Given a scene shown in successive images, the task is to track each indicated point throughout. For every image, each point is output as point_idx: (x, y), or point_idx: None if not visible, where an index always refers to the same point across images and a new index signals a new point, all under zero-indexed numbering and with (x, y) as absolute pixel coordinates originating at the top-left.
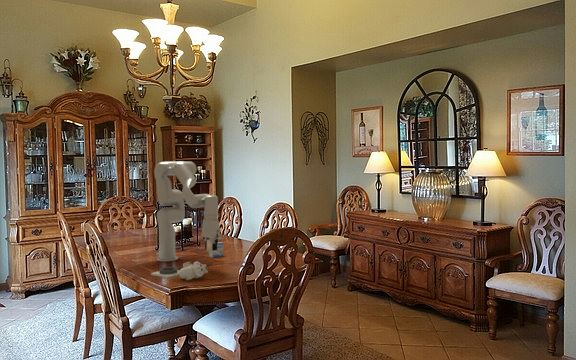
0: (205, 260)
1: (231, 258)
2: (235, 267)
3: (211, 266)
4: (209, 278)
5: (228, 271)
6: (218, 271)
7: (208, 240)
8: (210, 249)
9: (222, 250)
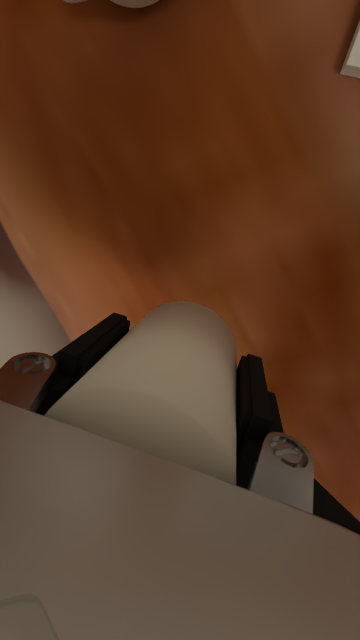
0: (351, 492)
1: None
2: None
3: (238, 362)
4: (59, 6)
5: (69, 272)
6: (123, 250)
7: (135, 386)
8: (152, 317)
9: None
